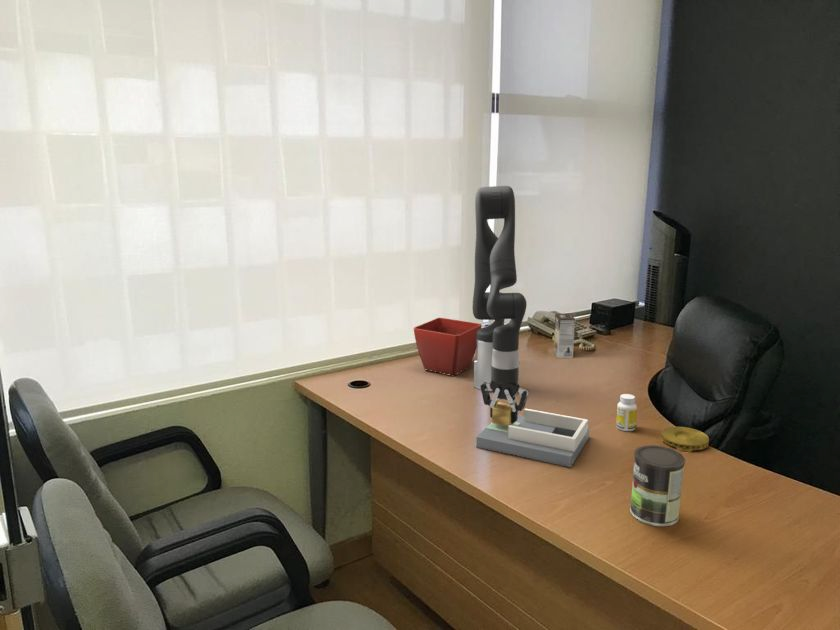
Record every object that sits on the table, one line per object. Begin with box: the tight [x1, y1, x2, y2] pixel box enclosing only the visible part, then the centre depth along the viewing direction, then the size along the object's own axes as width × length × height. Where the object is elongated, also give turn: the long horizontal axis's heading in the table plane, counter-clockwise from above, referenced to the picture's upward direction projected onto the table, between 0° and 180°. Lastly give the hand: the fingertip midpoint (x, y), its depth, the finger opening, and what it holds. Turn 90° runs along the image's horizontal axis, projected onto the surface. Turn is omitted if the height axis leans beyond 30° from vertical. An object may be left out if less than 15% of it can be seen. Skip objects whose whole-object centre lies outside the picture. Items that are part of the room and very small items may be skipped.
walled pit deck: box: [475, 407, 591, 468], centre depth 174 cm, size 26×20×6 cm
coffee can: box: [629, 444, 686, 528], centre depth 137 cm, size 10×10×14 cm
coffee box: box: [553, 312, 576, 359], centre depth 249 cm, size 9×6×16 cm
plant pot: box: [413, 317, 482, 376], centre depth 234 cm, size 19×19×17 cm
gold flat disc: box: [661, 426, 710, 452], centre depth 174 cm, size 12×12×2 cm
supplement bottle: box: [615, 393, 638, 432], centre depth 182 cm, size 5×5×10 cm
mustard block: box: [491, 401, 512, 426], centre depth 177 cm, size 5×5×4 cm
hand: (503, 420), depth 178 cm, fingers closed on mustard block, 5 cm apart
